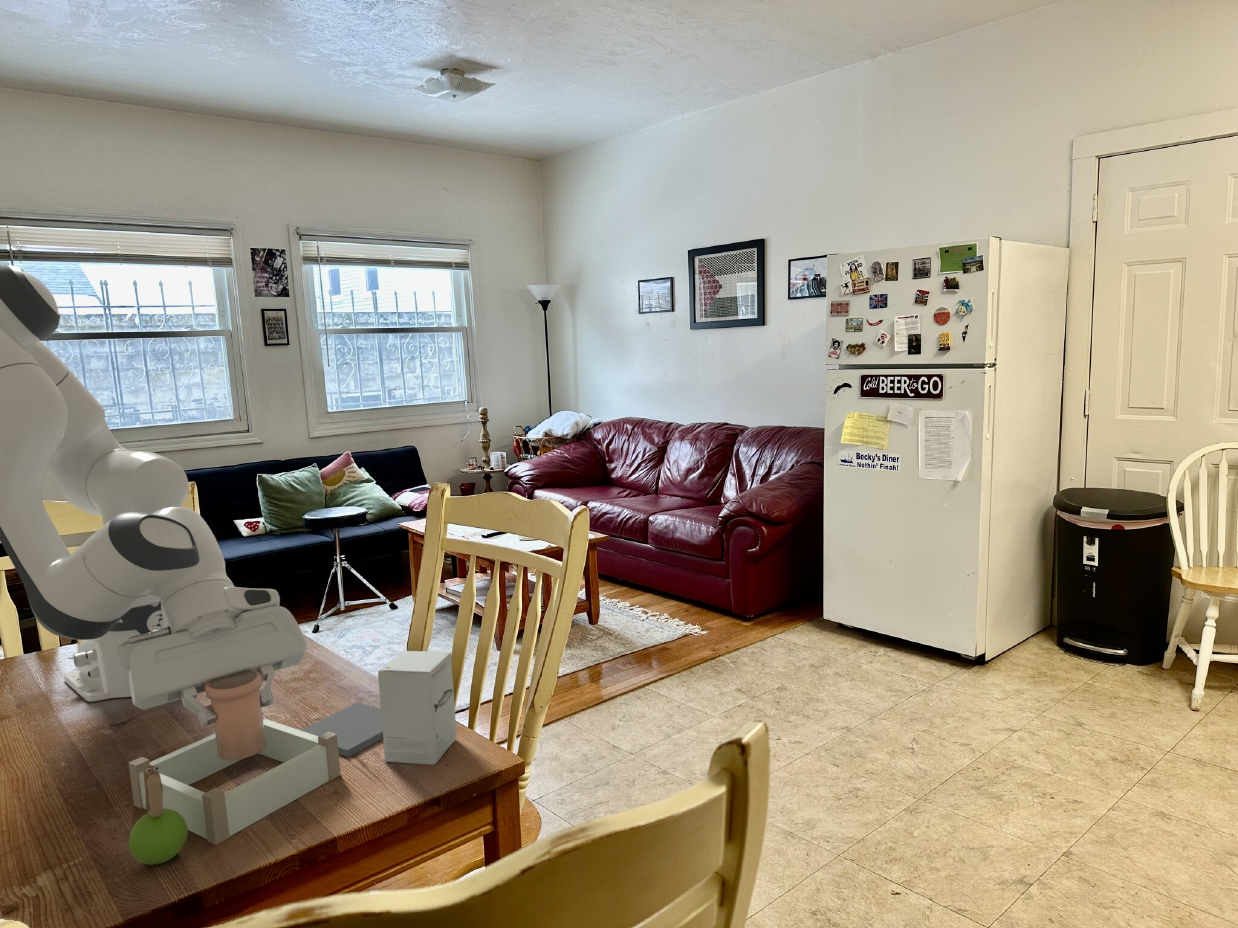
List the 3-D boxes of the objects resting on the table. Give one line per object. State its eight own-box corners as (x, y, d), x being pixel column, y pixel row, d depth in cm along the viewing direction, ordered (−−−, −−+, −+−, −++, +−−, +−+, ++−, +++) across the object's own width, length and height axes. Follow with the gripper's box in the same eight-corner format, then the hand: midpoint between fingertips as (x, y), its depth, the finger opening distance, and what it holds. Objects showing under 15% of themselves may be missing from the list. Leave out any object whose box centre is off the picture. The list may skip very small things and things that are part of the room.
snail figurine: (136, 887, 83) (121, 776, 82) (129, 857, 88) (115, 752, 87) (195, 865, 86) (182, 759, 85) (185, 838, 92) (173, 736, 90)
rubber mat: (295, 739, 114) (294, 732, 114) (357, 708, 124) (357, 702, 123) (348, 757, 109) (347, 750, 108) (409, 723, 118) (409, 716, 118)
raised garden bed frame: (134, 805, 99) (128, 762, 98) (259, 745, 113) (254, 707, 112) (216, 845, 90) (210, 798, 89) (340, 774, 104) (336, 733, 103)
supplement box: (436, 766, 105) (429, 672, 104) (383, 762, 107) (375, 669, 105) (459, 739, 112) (452, 650, 111) (408, 736, 114) (401, 648, 112)
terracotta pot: (203, 755, 100) (193, 684, 99) (247, 733, 106) (238, 665, 104) (236, 765, 97) (226, 692, 96) (280, 742, 103) (271, 672, 101)
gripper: (114, 627, 97) (145, 731, 91) (288, 586, 110) (325, 675, 105) (112, 653, 101) (141, 755, 95) (280, 611, 114) (315, 698, 109)
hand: (239, 713), depth 100 cm, fingers closed on terracotta pot, 5 cm apart
